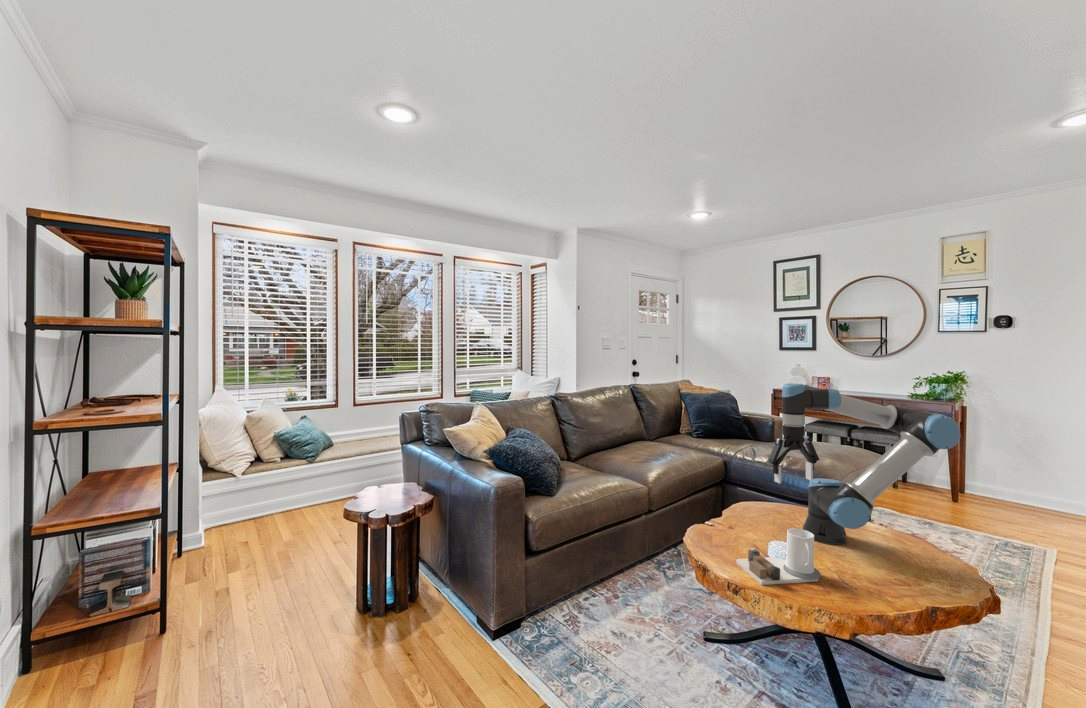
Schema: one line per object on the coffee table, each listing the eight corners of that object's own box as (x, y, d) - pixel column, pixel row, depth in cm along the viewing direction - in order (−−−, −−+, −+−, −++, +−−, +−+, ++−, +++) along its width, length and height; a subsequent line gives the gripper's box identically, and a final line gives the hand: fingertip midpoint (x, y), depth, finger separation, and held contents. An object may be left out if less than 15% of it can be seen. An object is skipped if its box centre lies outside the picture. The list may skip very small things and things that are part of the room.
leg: (782, 579, 149) (783, 569, 149) (772, 580, 148) (772, 570, 148) (755, 558, 163) (755, 549, 163) (746, 559, 162) (746, 549, 162)
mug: (821, 580, 149) (822, 544, 149) (792, 577, 151) (793, 541, 151) (809, 563, 161) (810, 529, 160) (782, 560, 163) (783, 526, 162)
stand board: (795, 559, 167) (796, 541, 167) (828, 582, 151) (829, 563, 151) (736, 562, 164) (736, 545, 164) (763, 586, 148) (763, 567, 148)
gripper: (814, 421, 180) (814, 475, 181) (757, 424, 175) (757, 480, 176) (830, 424, 173) (830, 481, 173) (771, 428, 168) (771, 486, 168)
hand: (793, 481), depth 174 cm, fingers open, 13 cm apart
